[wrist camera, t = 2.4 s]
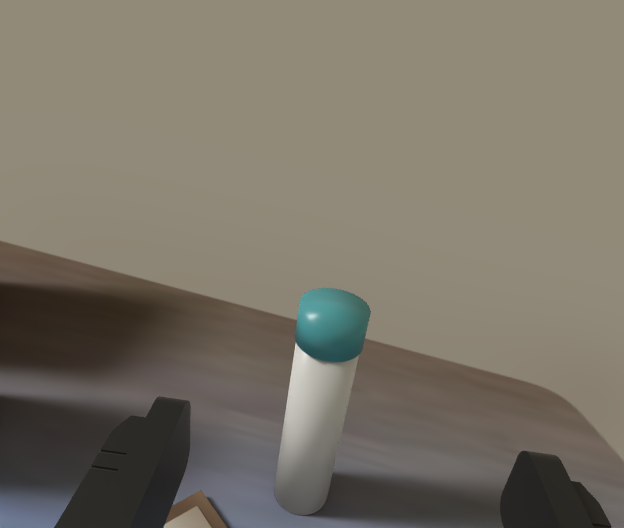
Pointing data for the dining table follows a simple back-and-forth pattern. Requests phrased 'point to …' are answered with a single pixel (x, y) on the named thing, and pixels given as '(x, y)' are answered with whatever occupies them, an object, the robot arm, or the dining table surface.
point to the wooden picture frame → (194, 514)
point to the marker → (318, 395)
